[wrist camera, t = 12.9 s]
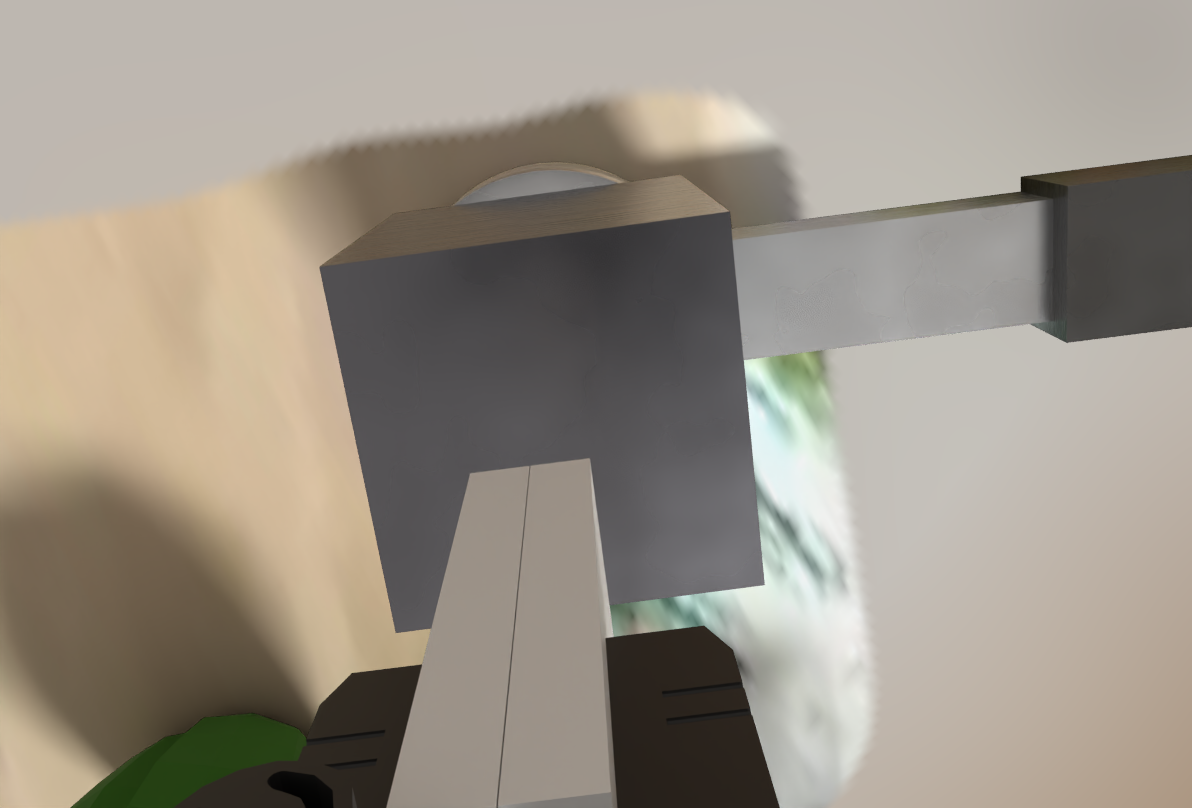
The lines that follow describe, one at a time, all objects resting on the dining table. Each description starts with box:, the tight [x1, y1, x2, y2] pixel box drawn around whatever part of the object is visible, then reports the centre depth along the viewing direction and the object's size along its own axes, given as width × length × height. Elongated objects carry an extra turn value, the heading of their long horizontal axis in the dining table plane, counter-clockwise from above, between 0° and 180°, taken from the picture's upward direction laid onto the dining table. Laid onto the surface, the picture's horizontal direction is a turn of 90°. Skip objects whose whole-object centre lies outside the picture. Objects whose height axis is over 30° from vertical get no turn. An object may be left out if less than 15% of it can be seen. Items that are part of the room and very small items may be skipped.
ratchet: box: [452, 155, 1192, 360], centre depth 26 cm, size 28×8×7 cm, turn 97°
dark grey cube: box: [320, 175, 764, 633], centre depth 22 cm, size 7×7×8 cm
